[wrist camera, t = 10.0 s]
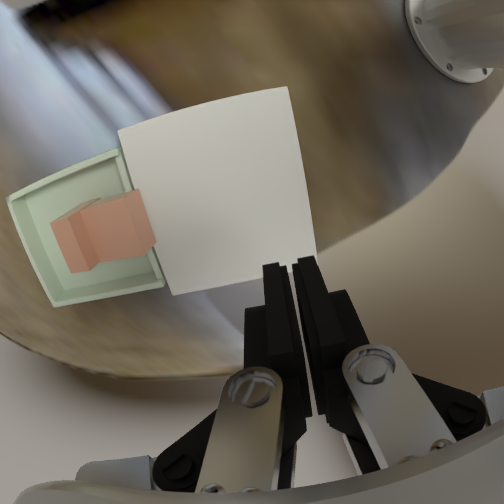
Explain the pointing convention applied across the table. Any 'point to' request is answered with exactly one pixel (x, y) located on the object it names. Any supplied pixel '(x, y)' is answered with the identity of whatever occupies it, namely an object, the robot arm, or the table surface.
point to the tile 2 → (119, 226)
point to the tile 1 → (75, 240)
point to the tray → (58, 203)
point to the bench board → (222, 189)
